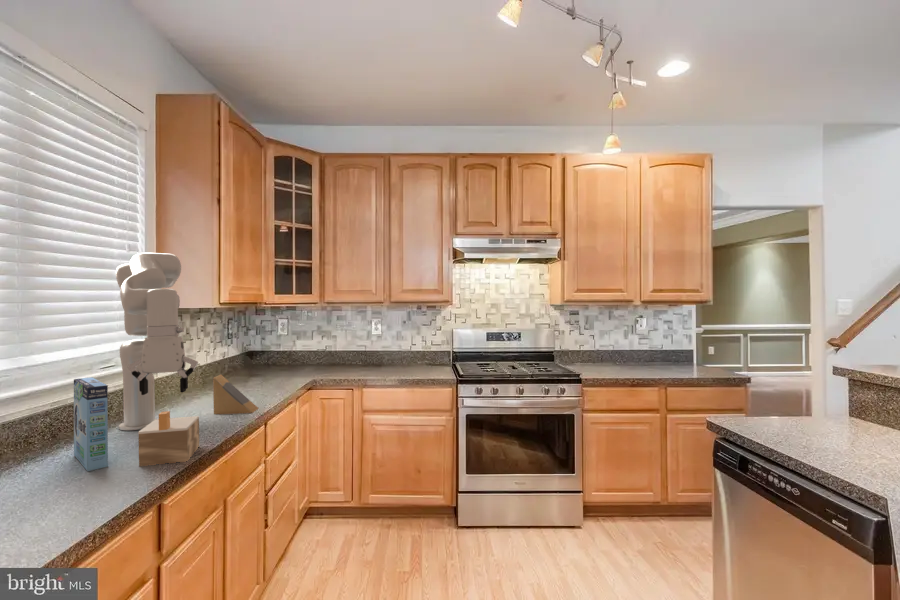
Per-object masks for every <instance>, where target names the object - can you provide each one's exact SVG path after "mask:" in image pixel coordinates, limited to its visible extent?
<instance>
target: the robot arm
mask: <svg viewBox="0 0 900 600" xmlns="http://www.w3.org/2000/svg"><path fill="white" fill-rule="evenodd" d="M115 270H116V271H115V277H116V278H115V279H116V282H117V284H118V287H119V289H120V290H119V291H120V292H119V294H120V301H121V306H122V308H123V311H124V312H123V315H124V316H123V318H124V331H125V333H126V334H127V335H128V336H130V337H131V336H132V337H145V338H140V339H139V338H138V339H131V340H127V341H124V342H123V343H122V344H121V345H120V346H119V358H120V362H121V369H122V387H123V388H122V390H123V391H122V392H123V422H122V423H120V424H119V425H118V429H119V431H140V430H142V429H143V428H144V427H146V426H147V425H148V424H150V423H151V422H152V421H154V420H155V419H156V398H155V394H156V393H155V375H154V374H161V373H162V374H164V373H166V374H167V373H177V374H178V375H179V376H180V377H181V378H180V379H179V392H180V393H185V392H186V391H187V389H188V388H189V379H188V377H189V376H190V375H191V374H193V372H194V371H195V369H196V367H197V366H198V364H199V361H198V360H196V359H193V358H190V357H188V356H186V351H185V344H184V340H183V337H182V335H180V333H184V332H185V328H184V327H180V325H179V308H180V304H181V298H180V296H179V295H180V294H178V292H177V290H176V289H173V288H171V287H173V286H175V284H176V282H177V281H178V280H179V278H180V276H181V273H182V263H181V260H180V259H179V257H178V256H176V255H175V254H173V253H165V252H164V253H161V252H141V253H140V252H139V253H137V254H134V255H133V256H132V257H131V259H130V260H129V263H124V264H120V265H118V266H117V267H116V269H115ZM179 335H180V336H179ZM186 363H187V364H189V365H190V366H189V368H188V369H187V370H186Z"/></svg>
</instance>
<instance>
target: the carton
mask: <svg viewBox="0 0 900 600" xmlns="http://www.w3.org/2000/svg"><path fill="white" fill-rule="evenodd" d="M137 437H138V467H145V466H146V467H147V466H148V465H149V466H156V464H159V465H166V464H165V463H169V464H176V462H180V463H187V462H188V461H189V460H190V459H191V458H192V457H193V455H194V454H195V453H196V451H197V450H198V449H199V448H200V417H199V418H198V419H197V420H196V421H195V422H194V423H193V424H192V425H191V426H190V427H189V428H188V429H187V430H183V431H171V432H158V433H145V434H138V435H137ZM198 447H199V448H198ZM194 452H195V453H194ZM190 457H191V458H190ZM186 461H187V462H186Z"/></svg>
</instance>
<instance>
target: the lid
mask: <svg viewBox="0 0 900 600" xmlns="http://www.w3.org/2000/svg"><path fill="white" fill-rule="evenodd" d="M198 418H199V419H200V415H195V416H194V415H193V416H183V417H180V416H179V417H171V411H170V410H167V411H161V412H160V413H158V418H155V420H154V421H152V422H151V423H150V424H148V425H147V426H146V427H144V428H143V429H140V430H138V434H145V433H158V432H171V431H183V430H187V429H188V428H189V427H190V426H191V425H192V424H193V423H194V422H195V421H196V420H197V419H198Z"/></svg>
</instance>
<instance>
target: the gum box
mask: <svg viewBox="0 0 900 600" xmlns="http://www.w3.org/2000/svg"><path fill="white" fill-rule="evenodd" d="M108 386H109V385H108V384H106V383H104V382H102V381H100V380H99V379H97V378H94V377H93V376H91V377H90V376H89V377H83V378H75V379H73V455H74V458H76V459H77V460H78V462H79V463H80V464H81V465H82V467H83V468H84V469H85V471H86V472H87V473H88V472H93V471H97V469H98V470H101V469H106V467H107V468H108V467H109V454H108V453H109V452H108V451H109V450H108V449H109V448H108V445H109V436H108V435H109V434H108V433H109V432H108V429H109V428H108V427H109V426H108V425H109V422H108V420H109V418H108V417H109V416H108V414H109V413H108V409H109V407H108V400H109V399H108V392H109V391H108V390H109V389H108V388H109V387H108Z"/></svg>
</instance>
